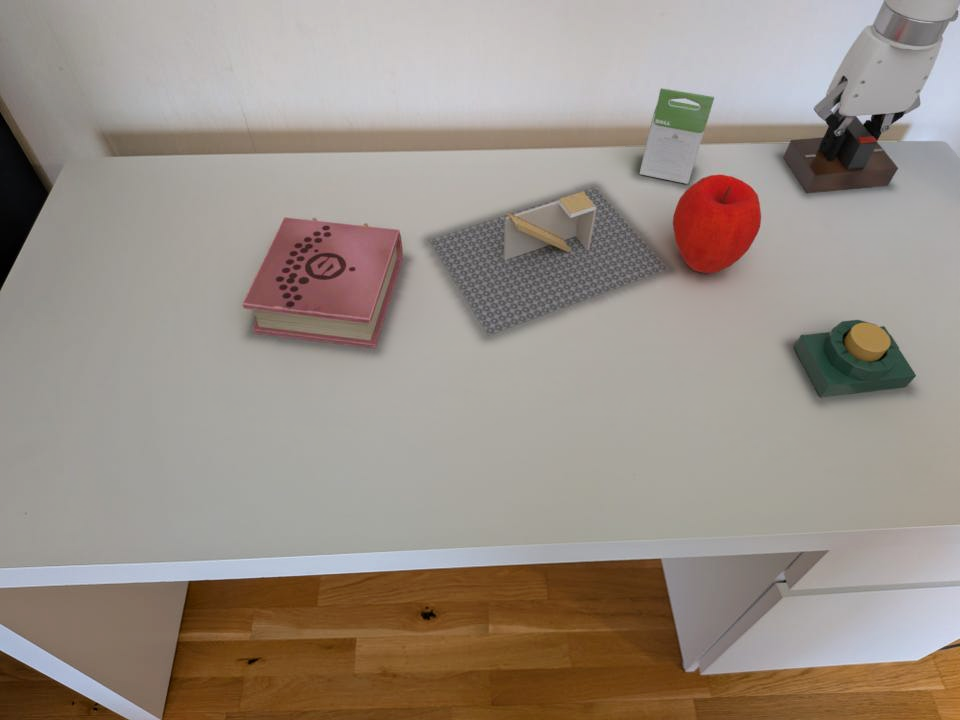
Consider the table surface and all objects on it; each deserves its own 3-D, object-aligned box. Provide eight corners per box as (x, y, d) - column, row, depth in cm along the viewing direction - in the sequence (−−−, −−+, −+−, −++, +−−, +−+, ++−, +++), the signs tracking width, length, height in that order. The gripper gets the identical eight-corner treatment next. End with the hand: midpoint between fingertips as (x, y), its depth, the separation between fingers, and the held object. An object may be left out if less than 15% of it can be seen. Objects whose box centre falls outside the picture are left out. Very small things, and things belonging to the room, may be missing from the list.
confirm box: (875, 337, 78) (892, 315, 75) (906, 387, 74) (925, 365, 71) (793, 347, 77) (806, 324, 74) (819, 397, 73) (835, 376, 70)
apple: (647, 245, 87) (668, 166, 78) (713, 228, 89) (742, 149, 80) (686, 299, 82) (714, 222, 72) (756, 280, 84) (793, 202, 74)
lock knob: (824, 139, 96) (837, 112, 93) (840, 137, 96) (854, 111, 93) (846, 169, 92) (861, 143, 89) (864, 168, 92) (879, 141, 89)
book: (404, 254, 86) (400, 224, 82) (375, 348, 77) (369, 319, 73) (295, 242, 87) (286, 212, 83) (253, 333, 78) (242, 304, 74)
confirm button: (871, 330, 74) (879, 320, 73) (889, 359, 72) (898, 349, 71) (837, 334, 74) (844, 324, 73) (854, 363, 72) (861, 353, 70)
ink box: (692, 168, 97) (719, 81, 86) (688, 185, 95) (715, 98, 84) (643, 158, 98) (664, 71, 87) (638, 175, 96) (659, 87, 85)
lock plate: (860, 151, 100) (871, 132, 97) (887, 185, 95) (899, 167, 92) (783, 157, 99) (791, 138, 96) (806, 193, 94) (815, 174, 91)
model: (589, 249, 87) (597, 202, 81) (515, 275, 84) (518, 228, 78) (576, 233, 89) (584, 186, 82) (503, 258, 86) (505, 211, 80)
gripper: (959, 2, 83) (886, 133, 97) (828, 10, 81) (774, 141, 96) (995, 34, 78) (913, 165, 93) (858, 43, 77) (796, 175, 91)
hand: (843, 152), depth 94 cm, fingers open, 4 cm apart
